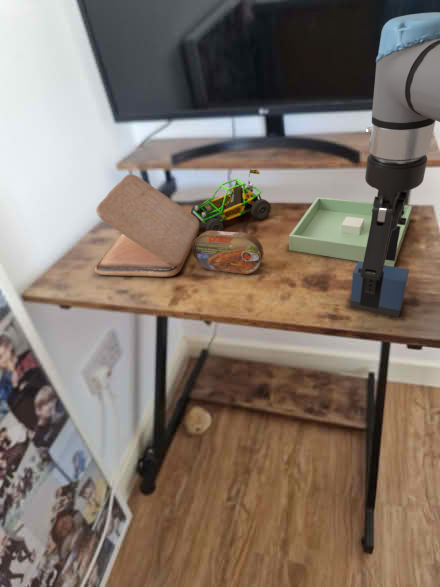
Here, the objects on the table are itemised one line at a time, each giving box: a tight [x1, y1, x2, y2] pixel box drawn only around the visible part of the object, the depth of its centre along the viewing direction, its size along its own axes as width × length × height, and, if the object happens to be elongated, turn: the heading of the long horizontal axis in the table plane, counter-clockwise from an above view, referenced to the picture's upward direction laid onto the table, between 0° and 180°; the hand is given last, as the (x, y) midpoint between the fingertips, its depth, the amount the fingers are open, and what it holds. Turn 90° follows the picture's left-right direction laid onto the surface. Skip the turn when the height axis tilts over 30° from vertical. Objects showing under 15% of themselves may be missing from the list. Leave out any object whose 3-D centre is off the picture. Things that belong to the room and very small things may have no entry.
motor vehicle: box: [190, 169, 272, 232], centre depth 100 cm, size 12×19×11 cm, turn 115°
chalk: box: [341, 217, 364, 235], centre depth 89 cm, size 4×4×2 cm
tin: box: [191, 230, 265, 275], centre depth 82 cm, size 15×3×8 cm, turn 68°
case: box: [94, 174, 201, 278], centre depth 89 cm, size 20×21×16 cm
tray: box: [288, 196, 413, 267], centre depth 88 cm, size 21×19×4 cm
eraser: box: [349, 261, 410, 318], centre depth 68 cm, size 8×4×8 cm, turn 62°
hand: (378, 280), depth 67 cm, fingers open, 13 cm apart
